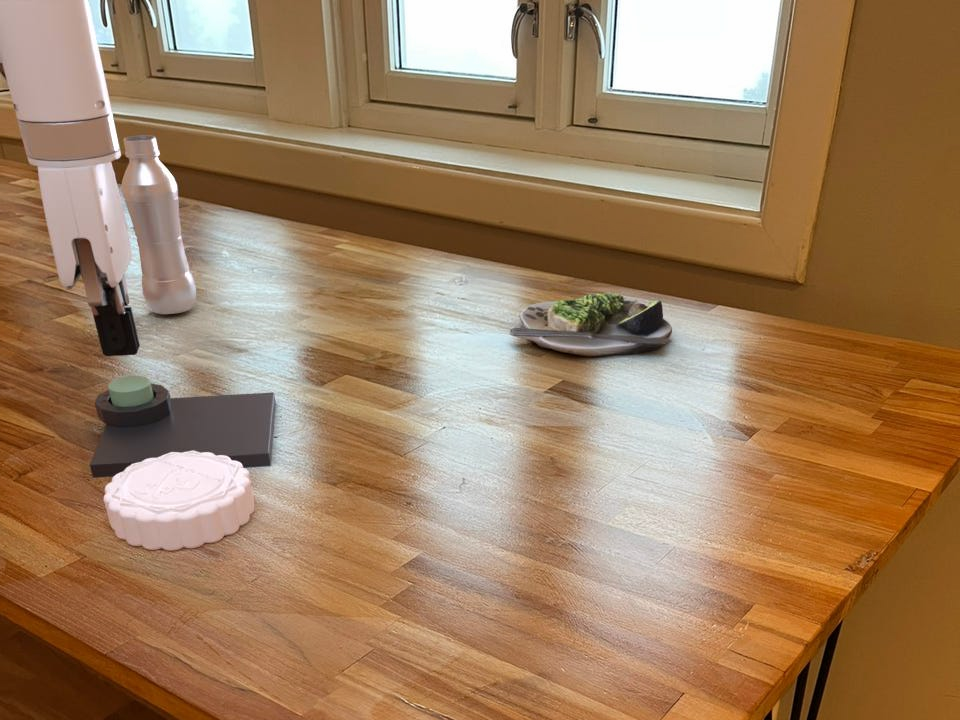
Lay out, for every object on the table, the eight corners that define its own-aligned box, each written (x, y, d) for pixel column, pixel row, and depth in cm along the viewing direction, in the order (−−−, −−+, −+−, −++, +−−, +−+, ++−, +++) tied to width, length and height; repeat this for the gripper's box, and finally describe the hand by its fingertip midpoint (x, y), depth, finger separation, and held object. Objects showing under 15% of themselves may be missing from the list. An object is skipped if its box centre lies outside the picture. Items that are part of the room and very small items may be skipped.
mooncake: (80, 527, 81) (69, 489, 79) (184, 470, 89) (177, 434, 87) (183, 568, 76) (174, 528, 74) (284, 503, 84) (278, 466, 82)
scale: (82, 479, 88) (73, 449, 86) (109, 412, 99) (102, 385, 97) (270, 466, 89) (266, 437, 88) (276, 402, 101) (272, 375, 99)
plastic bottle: (136, 316, 122) (96, 141, 110) (171, 300, 127) (137, 131, 115) (176, 323, 120) (141, 145, 108) (210, 306, 125) (180, 135, 112)
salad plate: (530, 373, 107) (531, 332, 104) (487, 319, 120) (487, 281, 118) (691, 355, 111) (696, 315, 108) (631, 305, 124) (635, 268, 121)
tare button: (108, 410, 93) (104, 392, 92) (115, 393, 96) (111, 376, 95) (151, 407, 94) (147, 390, 93) (156, 391, 97) (152, 374, 96)
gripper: (44, 125, 86) (96, 327, 98) (1, 160, 75) (65, 385, 86) (130, 122, 87) (171, 323, 98) (101, 156, 75) (151, 380, 87)
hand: (122, 352), depth 92 cm, fingers closed
